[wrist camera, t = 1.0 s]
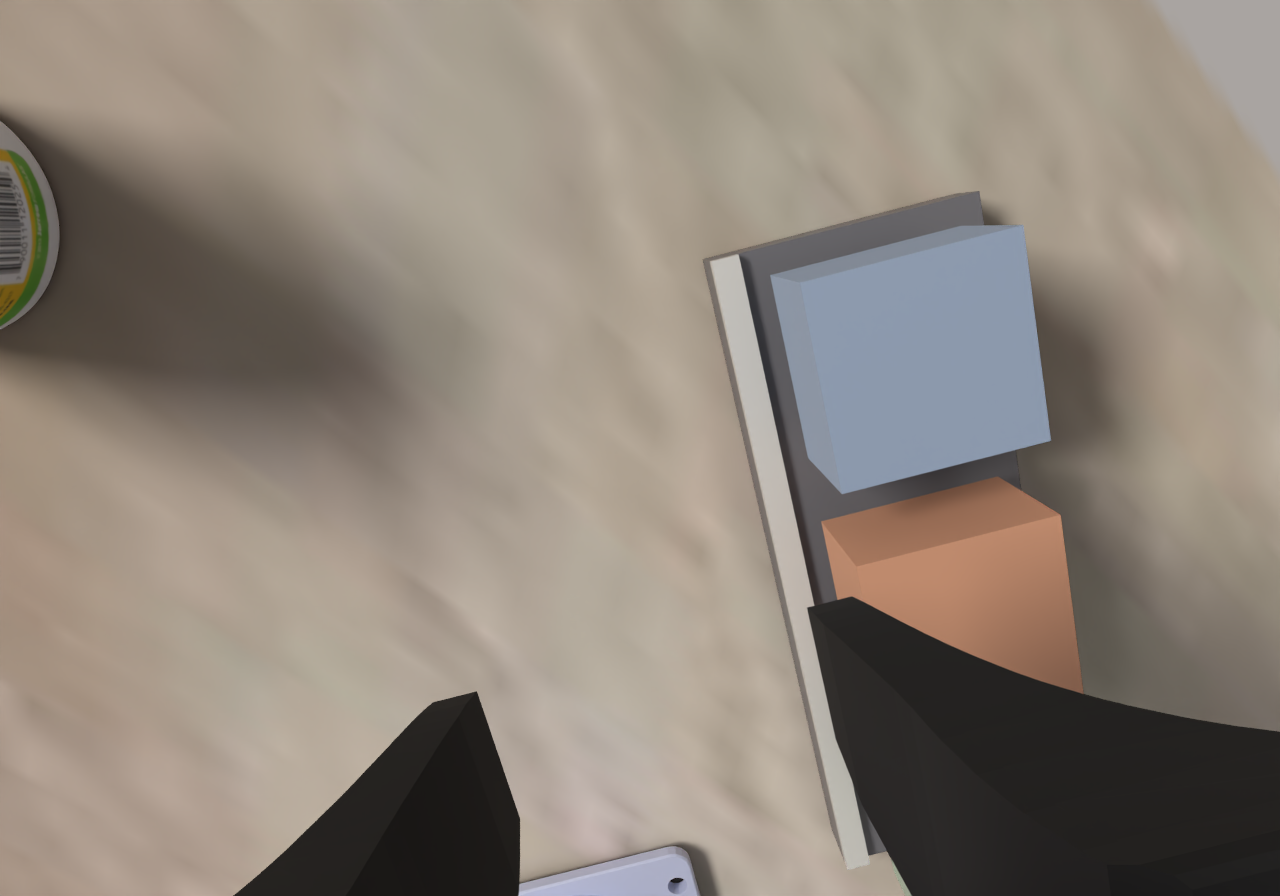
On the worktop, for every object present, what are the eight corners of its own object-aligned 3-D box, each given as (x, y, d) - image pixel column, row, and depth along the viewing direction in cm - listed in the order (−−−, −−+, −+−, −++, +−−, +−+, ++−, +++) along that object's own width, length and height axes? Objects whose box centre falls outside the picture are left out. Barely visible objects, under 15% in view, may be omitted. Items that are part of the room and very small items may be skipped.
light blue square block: (988, 411, 18) (1051, 441, 16) (807, 457, 18) (842, 494, 16) (961, 225, 17) (1023, 224, 15) (770, 275, 17) (799, 282, 15)
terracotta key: (1021, 636, 20) (1084, 696, 17) (853, 678, 20) (891, 744, 17) (997, 476, 19) (1060, 514, 16) (821, 521, 19) (856, 566, 16)
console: (1042, 777, 23) (1071, 813, 22) (832, 830, 24) (847, 869, 22) (956, 193, 19) (985, 190, 18) (702, 259, 20) (711, 261, 18)
